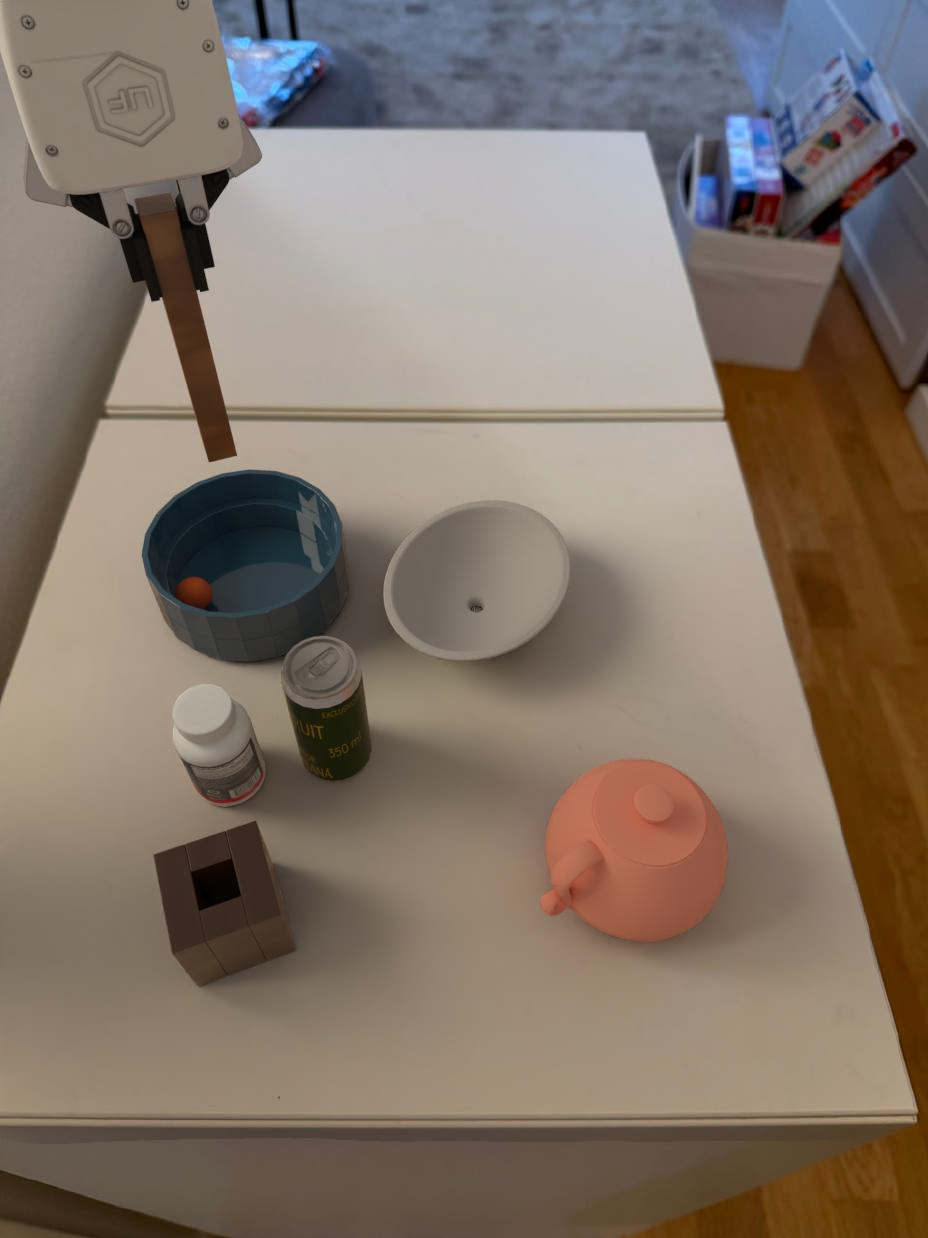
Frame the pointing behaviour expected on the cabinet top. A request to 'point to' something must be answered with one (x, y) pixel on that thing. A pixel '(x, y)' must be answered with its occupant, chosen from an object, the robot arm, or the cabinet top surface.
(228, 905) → the stick stand
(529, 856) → the cabinet top surface
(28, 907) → the cabinet top surface
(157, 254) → the brown wooden stick
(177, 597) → the ball
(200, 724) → the pill bottle
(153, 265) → the robot arm
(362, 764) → the green drink can
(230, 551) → the bowl
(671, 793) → the pink teapot
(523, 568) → the dish
